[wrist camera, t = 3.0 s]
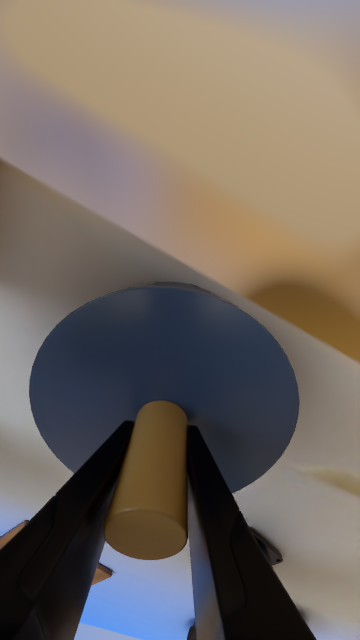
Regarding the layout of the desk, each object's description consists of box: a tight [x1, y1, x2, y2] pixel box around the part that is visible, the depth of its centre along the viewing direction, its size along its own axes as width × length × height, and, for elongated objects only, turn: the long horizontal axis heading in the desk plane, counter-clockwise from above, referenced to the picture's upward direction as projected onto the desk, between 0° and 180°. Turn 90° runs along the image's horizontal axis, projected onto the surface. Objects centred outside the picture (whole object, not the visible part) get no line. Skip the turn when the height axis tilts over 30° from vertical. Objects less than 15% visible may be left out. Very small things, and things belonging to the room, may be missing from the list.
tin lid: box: [29, 285, 299, 560], centre depth 8 cm, size 13×13×5 cm
